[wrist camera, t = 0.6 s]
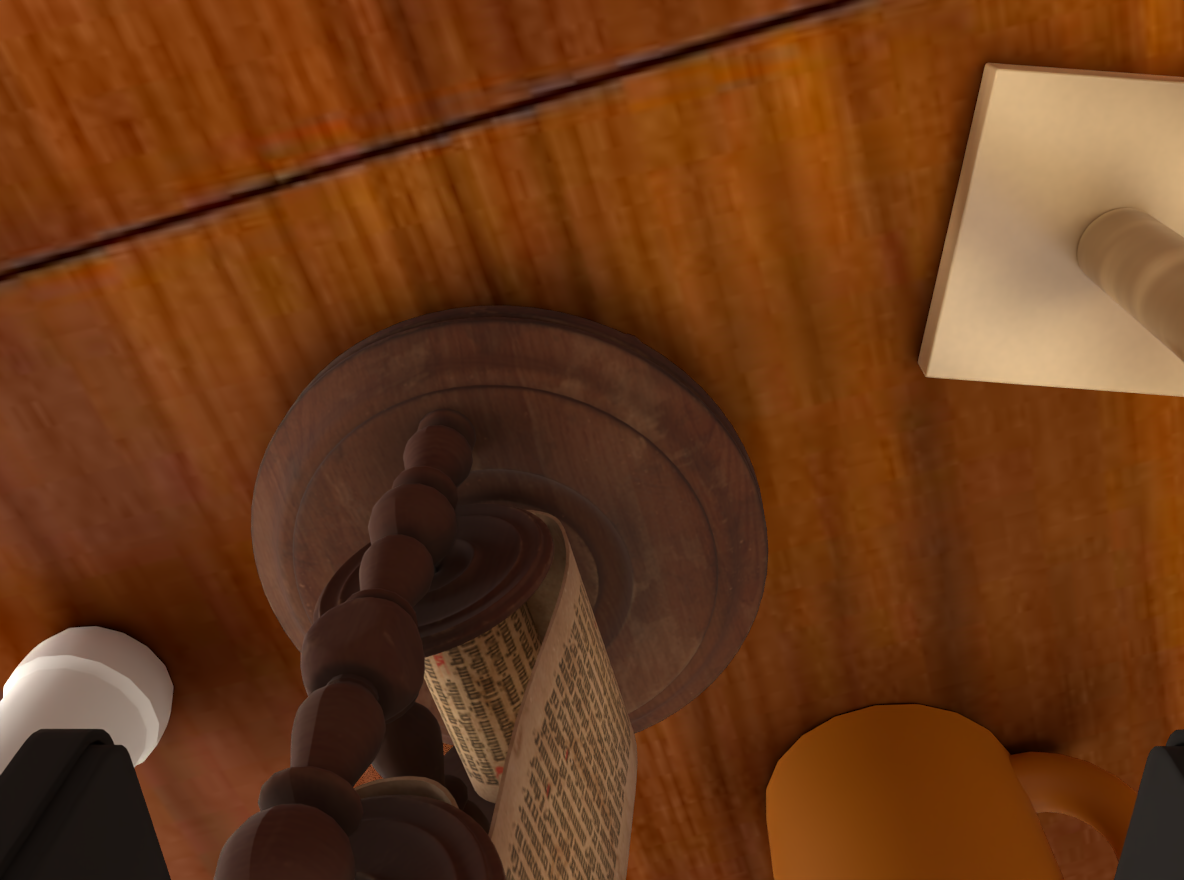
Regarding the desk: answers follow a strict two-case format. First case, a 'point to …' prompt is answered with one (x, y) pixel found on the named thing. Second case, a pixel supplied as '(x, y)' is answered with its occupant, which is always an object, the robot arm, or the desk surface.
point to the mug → (927, 801)
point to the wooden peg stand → (1066, 236)
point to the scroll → (492, 595)
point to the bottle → (88, 691)
